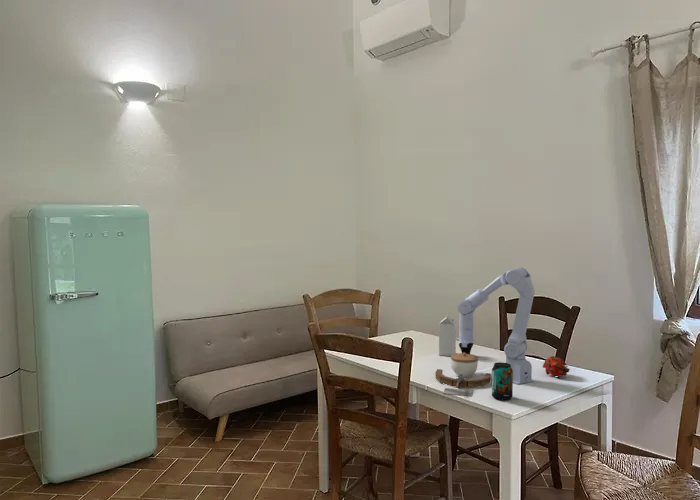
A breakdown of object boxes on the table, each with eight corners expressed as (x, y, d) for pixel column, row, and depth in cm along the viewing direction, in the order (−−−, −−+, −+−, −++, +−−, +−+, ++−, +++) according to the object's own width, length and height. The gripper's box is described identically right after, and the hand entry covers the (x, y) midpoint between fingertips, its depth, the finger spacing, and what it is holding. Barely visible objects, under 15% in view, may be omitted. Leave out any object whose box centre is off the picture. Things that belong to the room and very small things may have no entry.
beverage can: (511, 402, 180) (511, 367, 179) (490, 399, 183) (491, 366, 182) (513, 396, 187) (513, 362, 186) (493, 393, 189) (493, 361, 189)
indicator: (458, 377, 202) (458, 372, 202) (464, 377, 201) (464, 372, 201) (453, 388, 188) (453, 383, 188) (460, 389, 187) (460, 383, 187)
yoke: (437, 375, 213) (437, 369, 213) (490, 379, 206) (490, 373, 206) (428, 392, 191) (428, 385, 191) (487, 397, 185) (487, 390, 185)
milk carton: (438, 355, 244) (438, 315, 243) (440, 352, 251) (440, 312, 250) (454, 356, 242) (454, 316, 241) (455, 353, 249) (455, 313, 248)
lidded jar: (478, 372, 216) (478, 350, 215) (477, 380, 205) (477, 356, 205) (452, 370, 219) (452, 348, 218) (449, 378, 208) (449, 355, 208)
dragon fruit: (546, 375, 217) (565, 387, 206) (533, 365, 215) (552, 377, 203) (558, 358, 218) (578, 370, 206) (545, 348, 215) (565, 359, 203)
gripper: (458, 324, 226) (458, 355, 226) (454, 331, 212) (454, 364, 213) (475, 325, 223) (475, 356, 224) (472, 332, 210) (471, 365, 210)
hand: (466, 360), depth 218 cm, fingers closed
